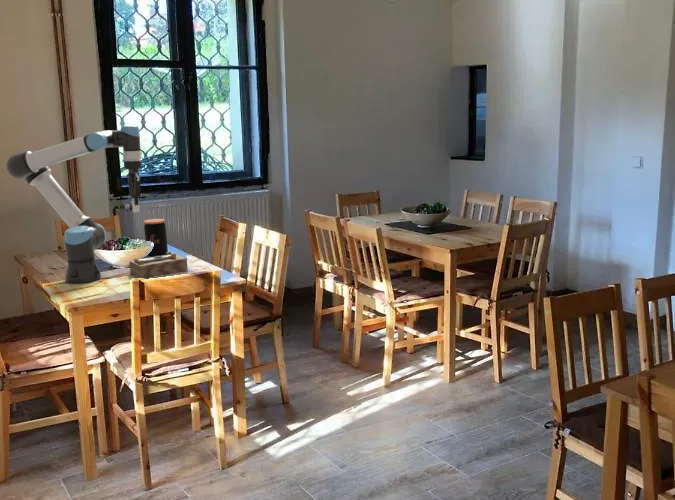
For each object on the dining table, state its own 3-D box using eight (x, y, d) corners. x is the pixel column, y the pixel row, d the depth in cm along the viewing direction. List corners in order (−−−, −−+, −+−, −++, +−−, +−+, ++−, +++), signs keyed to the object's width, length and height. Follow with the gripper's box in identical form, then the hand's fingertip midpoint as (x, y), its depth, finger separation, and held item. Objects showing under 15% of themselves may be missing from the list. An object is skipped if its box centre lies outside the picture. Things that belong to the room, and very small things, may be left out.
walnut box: (141, 279, 317) (139, 261, 315) (130, 273, 328) (128, 256, 326) (187, 271, 329) (186, 253, 328) (175, 265, 341) (174, 249, 339)
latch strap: (138, 263, 321) (138, 260, 320) (136, 262, 323) (136, 259, 323) (173, 257, 330) (173, 254, 330) (171, 256, 333) (170, 253, 332)
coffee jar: (142, 256, 364) (139, 221, 360) (156, 252, 373) (153, 218, 369) (158, 257, 359) (155, 222, 355) (172, 253, 368) (169, 219, 364)
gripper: (145, 160, 319) (149, 212, 324) (136, 158, 329) (139, 209, 334) (129, 161, 315) (132, 214, 320) (119, 159, 325) (123, 210, 330)
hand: (136, 211), depth 327 cm, fingers closed
